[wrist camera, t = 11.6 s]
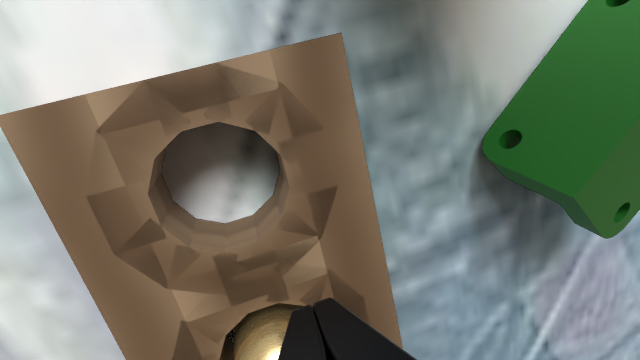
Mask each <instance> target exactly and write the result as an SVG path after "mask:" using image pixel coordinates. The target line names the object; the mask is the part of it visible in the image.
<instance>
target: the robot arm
mask: <svg viewBox="0 0 640 360" xmlns="http://www.w3.org/2000/svg"><path fill="white" fill-rule="evenodd" d="M278 360H417V359H415V358H414V357H413V356H411V355H410V354H408V353H407V352H406V351H404V350H403V349H402V348H400V347H399V346H397V345H396V344H395V343H393V342H392V341H391V340H389V339H388V338H387V337H385V336H384V335H382V334H381V333H380V332H378V331H377V330H376V329H374V328H373V327H371V326H370V325H369V324H367V323H366V322H365V321H363V320H362V319H361V318H359V317H358V316H356V315H355V314H354V313H352V312H351V311H350V310H348V309H347V308H345V307H344V306H343V305H341V304H340V303H339V302H337V301H336V300H334V299H333V298H326V299H323V300H320V301H318V302H315V303H314V304H313V308H312V306H311V305H306V306H304V307H301V308H298V309H295V310H293V311H292V312H291V315H290V319H289V322H288V326H287V329H286V333H285V336H284V340H283V343H282V347H281V350H280V354H279V357H278Z"/></svg>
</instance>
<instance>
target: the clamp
mask: <svg viewBox="0 0 640 360" xmlns="http://www.w3.org/2000/svg"><path fill="white" fill-rule="evenodd" d="M482 146H483V152H484V154H485V156H486V157H487V158H488V159H489V160H490V161H491V163H492V164H493V165H494V166H495V167H496V168H497V169H498V170H499V171H500V172H501V173H502V174H503V176H505V177H506V178H507V179H509V180H511V181H513V182H515V183H517V184H520V185H522V186H524V187H526V188H528V189H530V190H532V191H534V192H536V193H539V194H541V195H543V196H545V197H547V198H549V199H551V200H553V201H555V202H558V203H559V204H560V206H561V207H562V208H563V209H564V210H565V212H566V213H567V214H568V215H569V217H570V218H571V219H572V220H573V222H574V223H575V224H577V225H579V226H581V227H583V228H585V229H587V230H589V231H591V232H593V233H595V234H597V235H599V236H601V237H603V238H611V237H613V236H615V235H617V234H618V233H619V232H620V231H621V230H623V229H624V227H625V226H626V225H627V224H628V223H629V222H630V221H631V219H632V218H633V217H634V216H635V215H636V213H637V212H638V211H639V210H640V0H588V1H587V3H586V4H585V5H584V7H583V8H582V9H581V11H580V12H579V13H578V14H577V16H576V17H575V18H574V20H573V21H572V22H571V24H570V25H569V26H568V28H567V29H566V30H565V31H564V33H563V34H562V35H561V37H560V38H559V39H558V41H557V42H556V43H555V44H554V46H553V47H552V48H551V50H550V51H549V52H548V54H547V55H546V56H545V58H544V59H543V60H542V61H541V63H540V64H539V65H538V67H537V68H536V69H535V71H534V72H533V73H532V75H531V76H530V77H529V78H528V80H527V81H526V82H525V84H524V85H523V86H522V88H521V89H520V90H519V92H518V93H517V94H516V95H515V97H514V98H513V99H512V101H511V102H510V103H509V105H508V106H507V107H506V108H505V110H504V111H503V112H502V114H501V115H500V116H499V118H498V119H497V120H496V122H495V123H494V124H493V125H492V127H491V128H490V129H489V131H488V132H487V134H486V135H485V137H484V140H483V145H482Z"/></svg>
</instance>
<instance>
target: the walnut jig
mask: <svg viewBox="0 0 640 360" xmlns="http://www.w3.org/2000/svg"><path fill="white" fill-rule="evenodd" d="M215 122H222V123H226V124H230V125H234V126H238V127H242V128H246V129H250V130H254V131H256V132H257V133H258V134H259V135H260V136H261V137H262V138H263V139H264V140H265V141H266V142H268V143H269V144H270V145H271V146H272V147H273V148H274V149H275V152H276V156H277V159H278V163H279V167H280V171H279V174H278V178H277V182H276V185H275V189H274V193H273V196H272V197H271V198H270V199H269V200H268V201H267V202H266V203H265V204H264V205H263V206H262V207H261V208H260V209H259V210H258V211H257V212H256V213H255V214H254V215H251V216H248V217H245V218H242V219H239V220H235V221H232V222H229V223H226V224H225V223H219V222H213V221H207V220H201V219H196V218H195V217H193V216H192V215H191V214H189V213H188V212H187V211H185V210H184V209H183V208H182V207H180V206H179V205H178V204H176V203H175V202H174V201H172V199H171V196H170V194H169V191H168V189H167V186H166V184H165V181H164V179H163V176H162V174H161V170H162V165H163V160H164V155H165V150H166V146H167V145H168V144H169V143H170V142H171V141H172V140H173V139H174V138H175V137H176V136H177V135H178V134H179V133H180V132H181V131H185V130H189V129H192V128H196V127H200V126H204V125H207V124H211V123H215ZM0 127H1V129H2V131H3V133H4V134H5V136H6V138H7V140H8V142H9V144H10V146H11V147H12V149H13V151H14V153H15V155H16V157H17V158H18V160H19V162H20V164H21V166H22V168H23V170H24V171H25V173H26V175H27V177H28V179H29V181H30V183H31V184H32V186H33V188H34V190H35V192H36V194H37V196H38V197H39V199H40V201H41V203H42V205H43V207H44V209H45V210H46V212H47V214H48V216H49V218H50V220H51V221H52V223H53V225H54V227H55V229H56V231H57V233H58V234H59V236H60V238H61V240H62V242H63V244H64V246H65V247H66V249H67V251H68V253H69V255H70V257H71V259H72V260H73V262H74V264H75V266H76V268H77V270H78V272H79V273H80V275H81V277H82V279H83V281H84V283H85V284H86V286H87V288H88V290H89V292H90V294H91V296H92V297H93V299H94V301H95V303H96V305H97V307H98V309H99V310H100V312H101V314H102V316H103V318H104V320H105V322H106V323H107V325H108V327H109V329H110V331H111V333H112V335H113V336H114V338H115V340H116V342H117V344H118V346H119V347H120V349H121V351H122V353H123V355H124V357H125V359H126V360H234V343H233V342H232V341H230V340H229V339H228V337H227V334H228V333H229V332H230V331H231V330H232V329H233V328H234V327H235V326H236V325H237V324H238V323H239V322H240V321H241V320H242V319H243V318H244V317H245V316H246V315H247V314H248V313H251V312H254V311H257V310H259V309H262V308H265V307H268V306H271V305H274V304H276V303H283V304H292V305H301V306H306V305H311V306H312V308H313V304H314V303H315V302H318V301H320V300H323V299H326V298H333V299H334V300H336V301H337V302H339V303H340V304H341V305H343V306H344V307H345V308H347V309H348V310H350V311H351V312H352V313H354V314H355V315H356V316H358V317H359V318H361V319H362V320H363V321H365V322H366V323H367V324H369V325H370V326H371V327H373V328H374V329H376V330H377V331H378V332H380V333H381V334H382V335H384V336H385V337H387V338H388V339H389V340H391V341H392V342H393V343H395V344H396V345H397V346H399V347H400V348H402V349H403V347H402V342H401V337H400V332H399V326H398V321H397V316H396V311H395V306H394V301H393V296H392V290H391V285H390V280H389V275H388V270H387V265H386V260H385V254H384V249H383V244H382V239H381V234H380V229H379V224H378V219H377V213H376V208H375V203H374V198H373V193H372V188H371V183H370V177H369V172H368V167H367V162H366V157H365V152H364V147H363V141H362V136H361V131H360V126H359V121H358V116H357V111H356V105H355V100H354V95H353V90H352V85H351V80H350V75H349V70H348V64H347V59H346V54H345V49H344V44H343V39H342V34H341V33H337V34H333V35H329V36H325V37H321V38H317V39H312V40H308V41H304V42H300V43H296V44H292V45H288V46H283V47H279V48H275V49H271V50H267V51H263V52H259V53H254V54H250V55H246V56H242V57H238V58H234V59H230V60H226V61H221V62H217V63H213V64H209V65H205V66H201V67H197V68H192V69H188V70H184V71H180V72H176V73H172V74H168V75H164V76H159V77H155V78H151V79H147V80H143V81H139V82H135V83H130V84H126V85H122V86H118V87H114V88H110V89H106V90H102V91H97V92H93V93H89V94H85V95H81V96H77V97H73V98H68V99H64V100H60V101H56V102H52V103H48V104H44V105H40V106H35V107H31V108H27V109H23V110H19V111H15V112H11V113H6V114H2V115H0Z"/></svg>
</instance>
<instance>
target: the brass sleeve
mask: <svg viewBox="0 0 640 360" xmlns="http://www.w3.org/2000/svg"><path fill="white" fill-rule="evenodd" d="M301 307H304V306H301V305H292V304H283V303H276V304H274V305H271V306H268V307H265V308H262V309H259V310H257V311H254V312H251V313H248V314H247V315H246V316H245V317H244V318H243V319H242V320H241V321H240V322H239V323H238V324H237V325H236V326H235V327H234V328H233V338H234V360H278V357H279V354H280V350H281V347H282V343H283V340H284V336H285V333H286V329H287V326H288V322H289V319H290V315H291V312H292V311H293V310H295V309H298V308H301Z"/></svg>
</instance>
